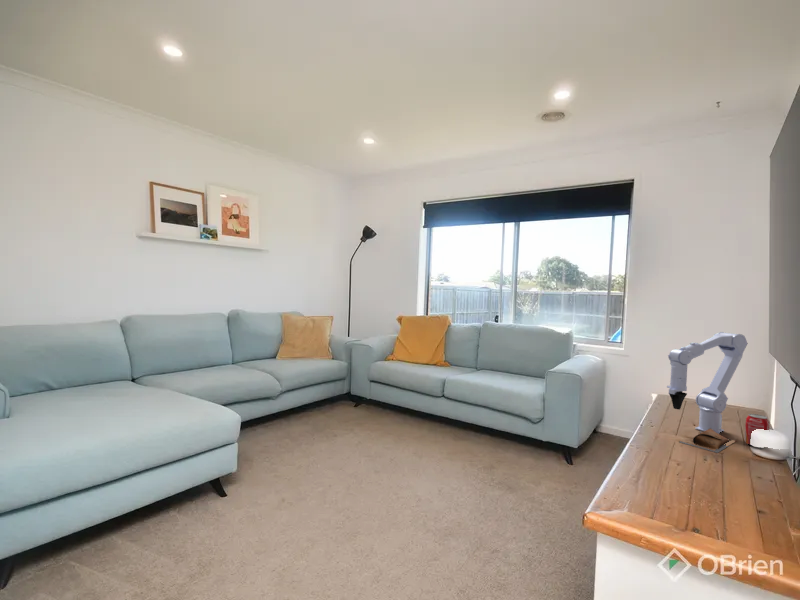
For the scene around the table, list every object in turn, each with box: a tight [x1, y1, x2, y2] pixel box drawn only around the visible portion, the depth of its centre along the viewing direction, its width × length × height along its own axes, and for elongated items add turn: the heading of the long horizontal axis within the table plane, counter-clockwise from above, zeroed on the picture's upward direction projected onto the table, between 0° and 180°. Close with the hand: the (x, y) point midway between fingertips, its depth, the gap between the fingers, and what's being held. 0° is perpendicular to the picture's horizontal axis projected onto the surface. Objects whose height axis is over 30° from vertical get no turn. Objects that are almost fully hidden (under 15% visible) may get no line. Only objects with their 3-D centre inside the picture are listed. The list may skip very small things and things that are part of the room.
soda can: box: [744, 413, 770, 445], centre depth 159 cm, size 7×7×12 cm
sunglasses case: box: [692, 428, 730, 450], centre depth 161 cm, size 18×7×7 cm
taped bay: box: [679, 431, 729, 454], centre depth 161 cm, size 24×12×1 cm, turn 127°
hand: (676, 408), depth 174 cm, fingers closed
